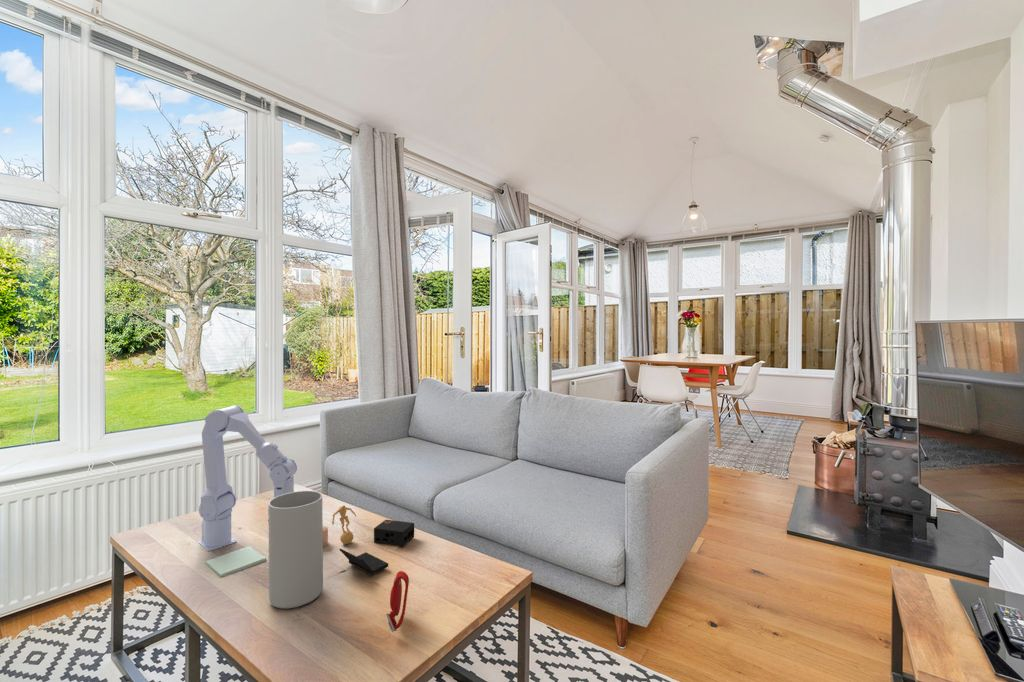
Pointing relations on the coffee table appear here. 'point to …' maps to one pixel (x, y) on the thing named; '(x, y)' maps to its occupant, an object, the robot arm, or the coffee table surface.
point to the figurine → (346, 535)
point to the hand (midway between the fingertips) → (284, 540)
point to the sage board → (235, 561)
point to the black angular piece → (366, 562)
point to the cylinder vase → (295, 548)
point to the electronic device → (394, 532)
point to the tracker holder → (397, 600)
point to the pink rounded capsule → (325, 536)
